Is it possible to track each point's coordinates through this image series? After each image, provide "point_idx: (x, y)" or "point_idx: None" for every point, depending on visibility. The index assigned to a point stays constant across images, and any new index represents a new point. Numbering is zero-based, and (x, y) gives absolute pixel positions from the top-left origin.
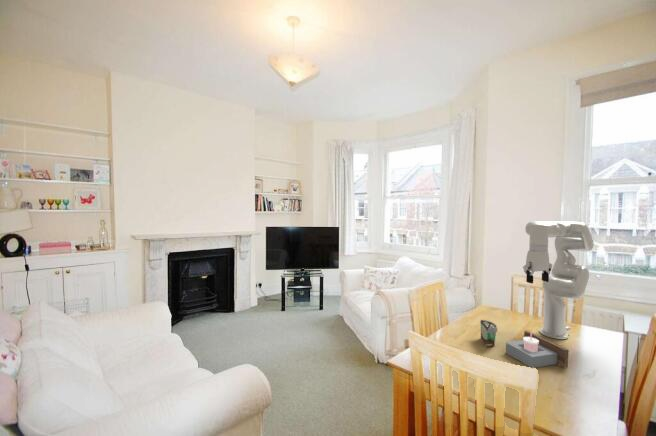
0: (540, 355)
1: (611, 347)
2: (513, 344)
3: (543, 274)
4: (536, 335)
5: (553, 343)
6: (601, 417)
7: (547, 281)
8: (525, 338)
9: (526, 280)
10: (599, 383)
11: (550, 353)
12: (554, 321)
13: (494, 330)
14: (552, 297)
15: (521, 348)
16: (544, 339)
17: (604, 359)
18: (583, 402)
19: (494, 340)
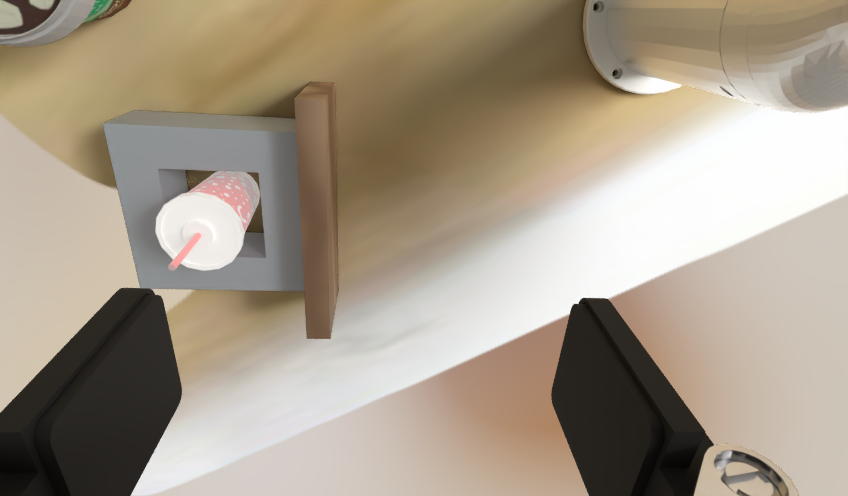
0: (197, 286)
1: (736, 225)
2: (135, 158)
3: (628, 440)
4: (315, 177)
5: (319, 277)
6: (172, 470)
7: (558, 400)
8: (179, 210)
9: (109, 301)
10: (343, 380)
11: (267, 285)
12: (660, 60)
13: (22, 43)
14: (815, 58)
15: (149, 209)
16: (315, 229)
17: (563, 286)
18: (182, 427)
19: (96, 18)
